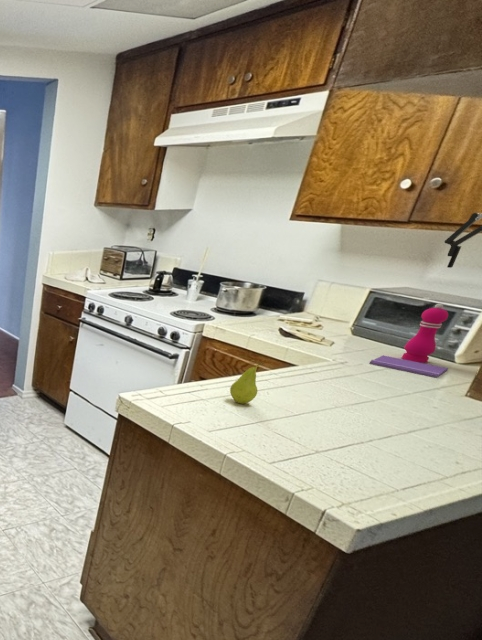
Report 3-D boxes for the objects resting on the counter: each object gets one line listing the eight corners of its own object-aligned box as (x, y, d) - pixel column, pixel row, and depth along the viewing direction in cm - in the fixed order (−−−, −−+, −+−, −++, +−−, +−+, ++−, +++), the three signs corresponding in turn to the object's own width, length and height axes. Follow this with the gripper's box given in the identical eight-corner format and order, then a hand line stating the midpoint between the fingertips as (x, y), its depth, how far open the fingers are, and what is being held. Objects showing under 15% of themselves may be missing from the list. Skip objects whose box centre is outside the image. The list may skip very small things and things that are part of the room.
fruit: (224, 396, 128) (237, 355, 124) (249, 400, 127) (263, 358, 122) (229, 404, 123) (243, 361, 119) (256, 408, 122) (270, 364, 117)
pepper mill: (404, 356, 168) (430, 300, 161) (432, 361, 162) (460, 304, 155) (395, 358, 165) (420, 302, 158) (423, 364, 159) (451, 306, 152)
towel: (447, 370, 154) (448, 367, 153) (436, 377, 147) (438, 374, 146) (381, 357, 166) (383, 354, 166) (369, 363, 159) (370, 360, 159)
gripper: (450, 196, 145) (421, 266, 153) (586, 194, 126) (544, 275, 134) (456, 196, 149) (427, 265, 157) (588, 195, 130) (548, 273, 138)
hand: (481, 269), depth 145 cm, fingers open, 13 cm apart
